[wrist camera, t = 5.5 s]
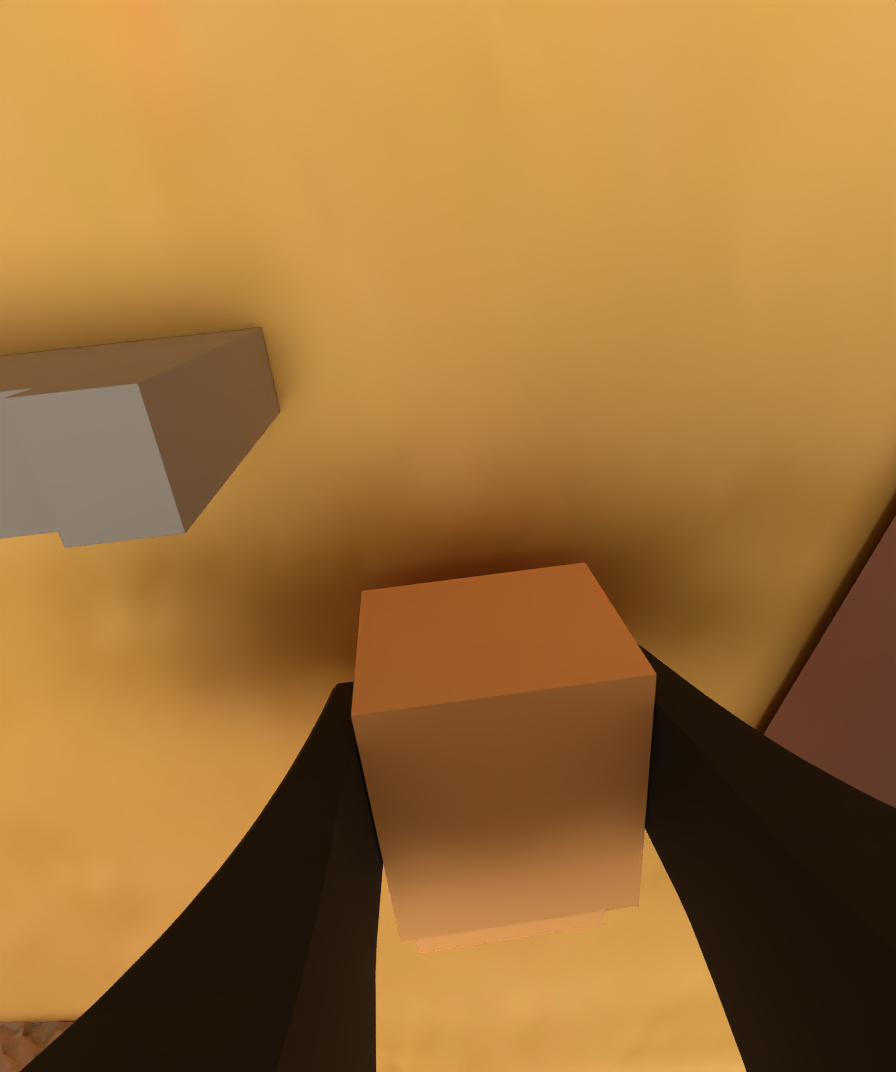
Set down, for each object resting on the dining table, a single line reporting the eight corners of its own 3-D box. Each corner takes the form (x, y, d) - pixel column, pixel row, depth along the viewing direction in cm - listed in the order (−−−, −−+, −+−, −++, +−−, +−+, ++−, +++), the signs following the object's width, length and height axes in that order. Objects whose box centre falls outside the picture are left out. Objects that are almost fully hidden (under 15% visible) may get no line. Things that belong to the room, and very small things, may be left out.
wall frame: (1339, 209, 11) (2121, 162, 6) (1297, 295, 12) (1973, 315, 7) (-72, 363, 10) (-530, 457, 5) (-33, 447, 11) (-405, 604, 6)
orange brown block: (584, 562, 12) (656, 674, 9) (582, 855, 16) (630, 1006, 12) (362, 591, 12) (350, 716, 8) (415, 880, 15) (421, 1040, 12)
